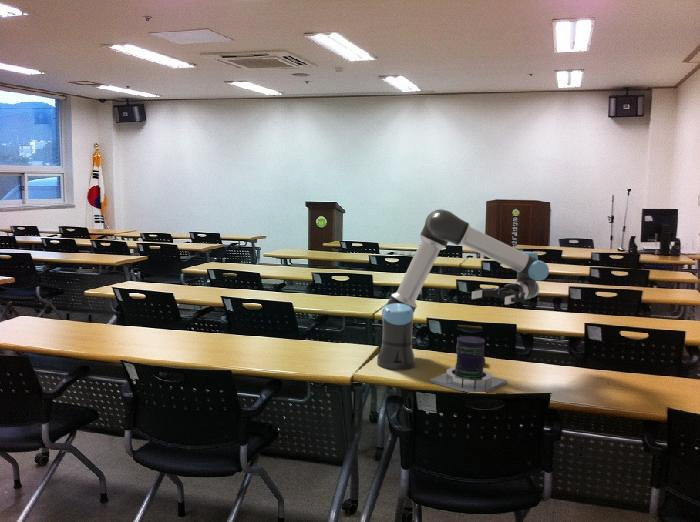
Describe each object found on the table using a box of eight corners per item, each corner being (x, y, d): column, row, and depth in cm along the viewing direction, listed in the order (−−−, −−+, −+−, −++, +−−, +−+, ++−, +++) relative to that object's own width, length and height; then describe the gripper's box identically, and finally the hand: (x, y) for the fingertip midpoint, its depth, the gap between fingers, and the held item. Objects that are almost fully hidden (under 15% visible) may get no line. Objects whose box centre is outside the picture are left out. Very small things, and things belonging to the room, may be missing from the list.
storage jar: (449, 378, 206) (451, 338, 204) (464, 373, 213) (466, 334, 211) (472, 385, 199) (475, 344, 197) (487, 380, 206) (490, 339, 204)
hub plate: (429, 382, 205) (430, 372, 204) (458, 371, 220) (459, 361, 219) (479, 396, 192) (480, 386, 191) (506, 383, 207) (507, 373, 206)
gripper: (544, 306, 219) (519, 313, 203) (486, 297, 236) (459, 302, 220) (546, 287, 218) (521, 292, 202) (487, 279, 235) (460, 283, 219)
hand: (488, 298), depth 211 cm, fingers open, 13 cm apart
